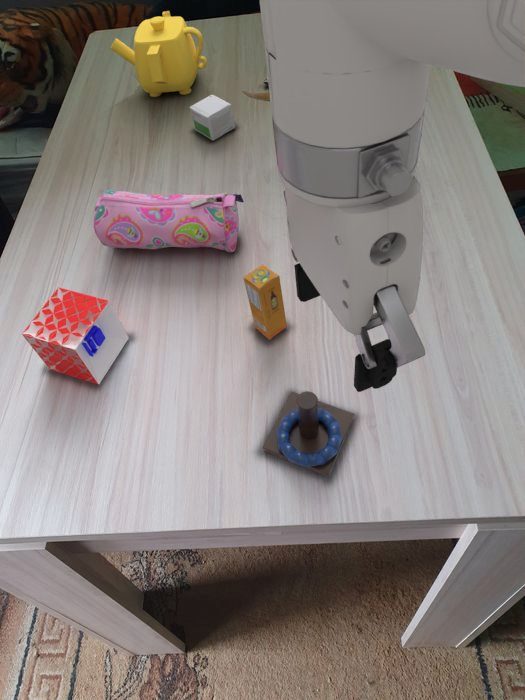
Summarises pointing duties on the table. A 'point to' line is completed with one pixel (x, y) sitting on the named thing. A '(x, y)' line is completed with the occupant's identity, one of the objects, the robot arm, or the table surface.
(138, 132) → the table surface
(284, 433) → the ring
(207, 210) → the pencil case
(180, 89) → the teapot
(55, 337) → the red patterned cube box
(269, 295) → the supplement box
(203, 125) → the small box
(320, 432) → the peg
